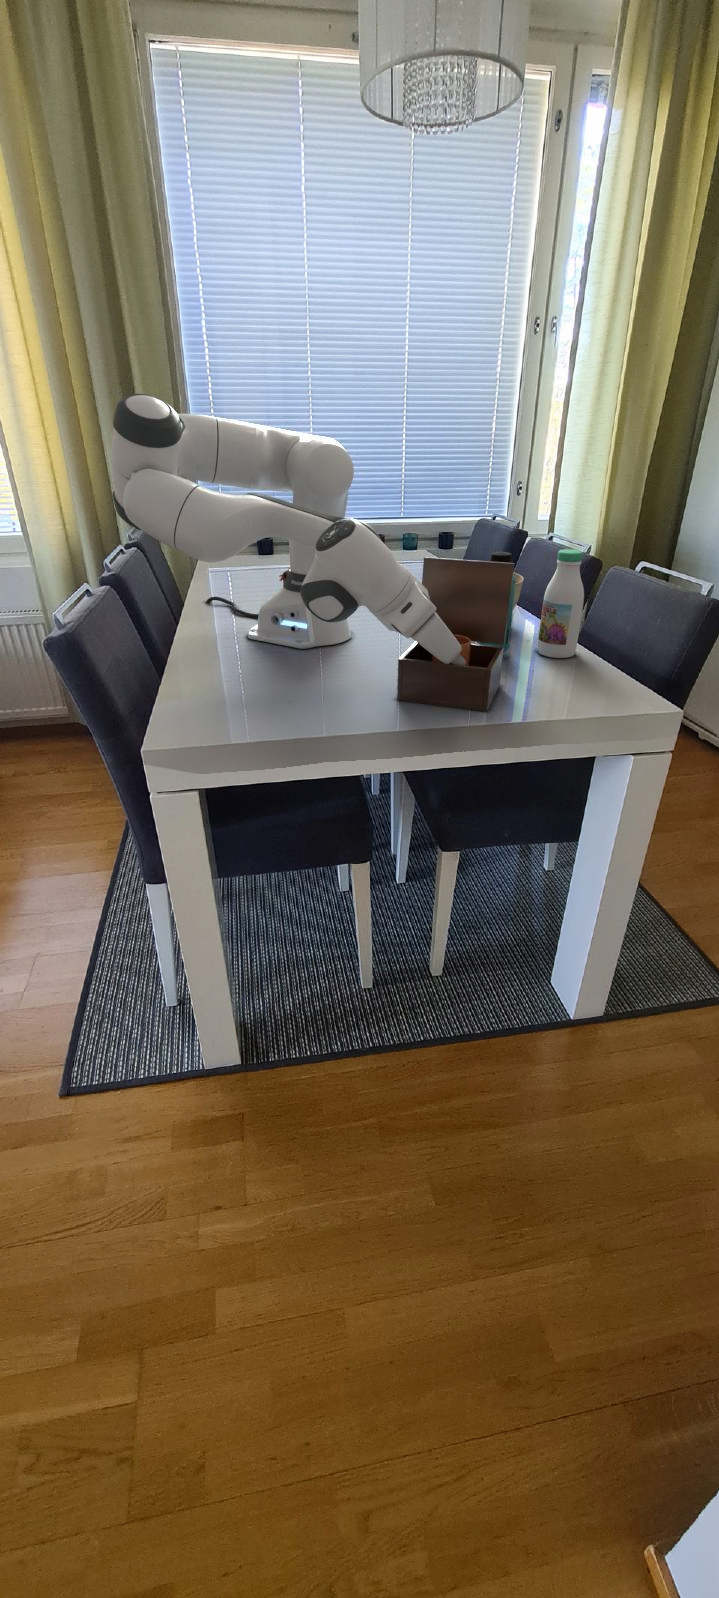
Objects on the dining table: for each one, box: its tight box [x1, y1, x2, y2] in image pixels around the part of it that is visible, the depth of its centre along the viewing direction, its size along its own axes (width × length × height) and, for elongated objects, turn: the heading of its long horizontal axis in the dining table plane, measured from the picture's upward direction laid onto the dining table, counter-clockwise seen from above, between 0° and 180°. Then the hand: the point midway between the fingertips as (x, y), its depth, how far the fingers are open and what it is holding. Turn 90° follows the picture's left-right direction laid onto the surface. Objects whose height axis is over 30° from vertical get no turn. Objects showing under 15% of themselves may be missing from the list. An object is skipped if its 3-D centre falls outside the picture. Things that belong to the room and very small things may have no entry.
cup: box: [432, 634, 472, 666], centre depth 119 cm, size 6×6×8 cm
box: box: [396, 640, 504, 712], centre depth 121 cm, size 13×16×7 cm
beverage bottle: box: [477, 551, 516, 653], centre depth 135 cm, size 6×7×20 cm
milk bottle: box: [536, 548, 585, 659], centre depth 137 cm, size 8×8×20 cm
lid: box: [421, 556, 515, 644], centre depth 123 cm, size 14×16×5 cm
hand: (454, 657), depth 119 cm, fingers closed on cup, 6 cm apart
